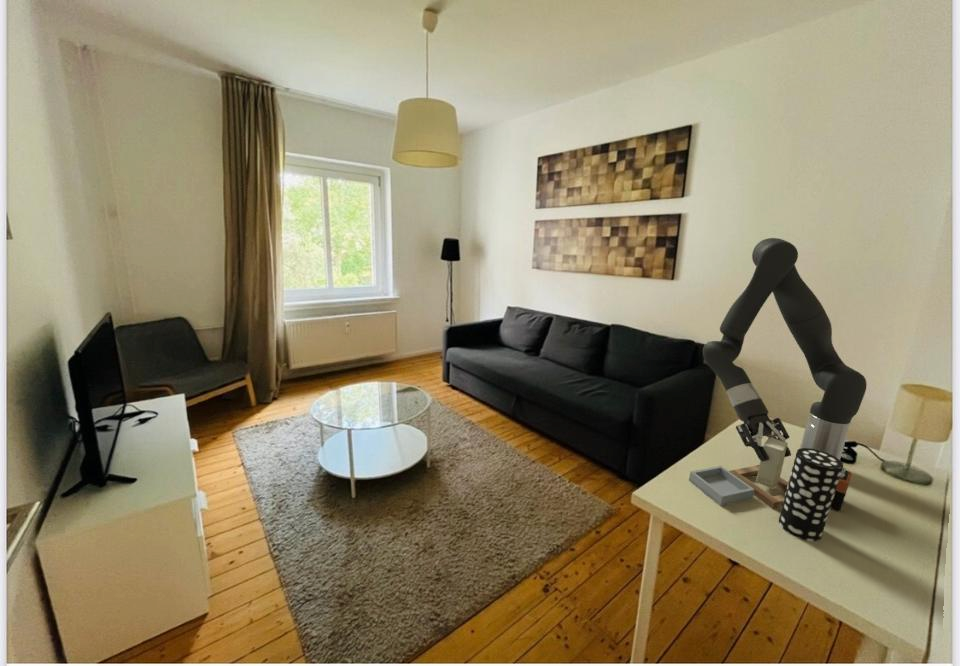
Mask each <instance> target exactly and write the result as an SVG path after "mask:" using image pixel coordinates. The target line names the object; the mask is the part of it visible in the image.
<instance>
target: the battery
mask: <svg viewBox="0 0 960 666" xmlns="http://www.w3.org/2000/svg"><path fill="white" fill-rule="evenodd" d="M852 475H853V473H852V472H851V471H849V470H846V468H845V467H843V469H842V472H841V475H840V478H839V482H838V485H837V488H836V491H835V495H834V498H833V501H832V504H831V508H830V509H832V510H834V511H837V512H840V511H841V510H842V507H843V504H844V501H845V498H846V494H847V491H848V488H849V485H850V481H851V478H852Z"/></svg>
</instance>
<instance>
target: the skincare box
mask: <svg viewBox="0 0 960 666" xmlns="http://www.w3.org/2000/svg"><path fill="white" fill-rule="evenodd" d="M762 446H763V448H764V450H765V452H766V453H767V455H768V457H769V460H767V461H763V462H762V461H761V460H760V459H759V460H760V462H759V464H758V465H759V470H758V475H757V476H756V478H755V479H756V480H755V483H757V484H760V485H763V486H765V487H767V488H769V489H772V490H774V489H775V488H776V487H777V486H776V485H777V483H778V482H779V480H780V477H781V475H782V471H783V466H784V461H785V458H786V457H785V453H786V448H787V446H788V442H786V441H785V442H784V441H781V440H778V439H775V438H772V437H769V438H768V437H767V439H766V440H765V442H764V443H763V445H762Z"/></svg>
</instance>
